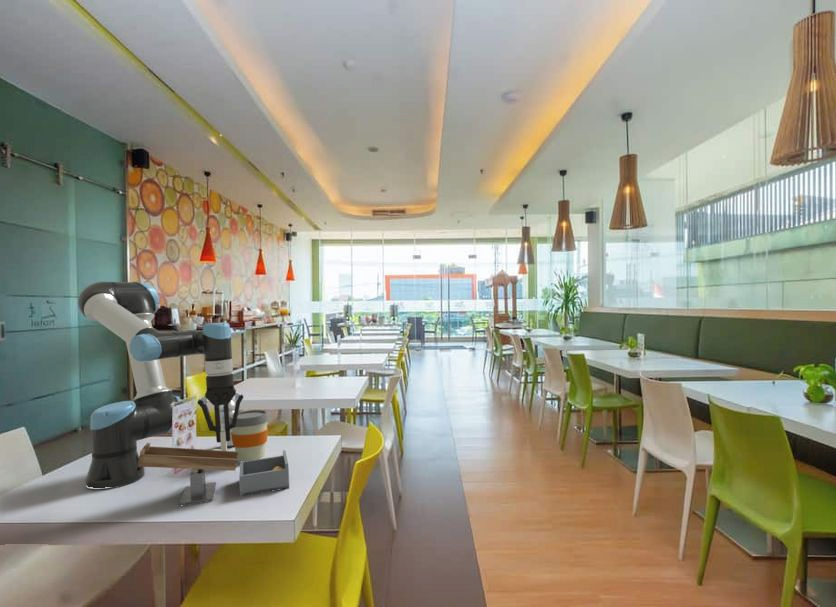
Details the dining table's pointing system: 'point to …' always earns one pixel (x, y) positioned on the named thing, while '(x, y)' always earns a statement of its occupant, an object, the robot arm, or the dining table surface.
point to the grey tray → (263, 475)
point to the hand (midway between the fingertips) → (224, 452)
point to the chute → (187, 458)
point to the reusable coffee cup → (250, 434)
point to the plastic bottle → (231, 412)
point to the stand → (198, 489)
